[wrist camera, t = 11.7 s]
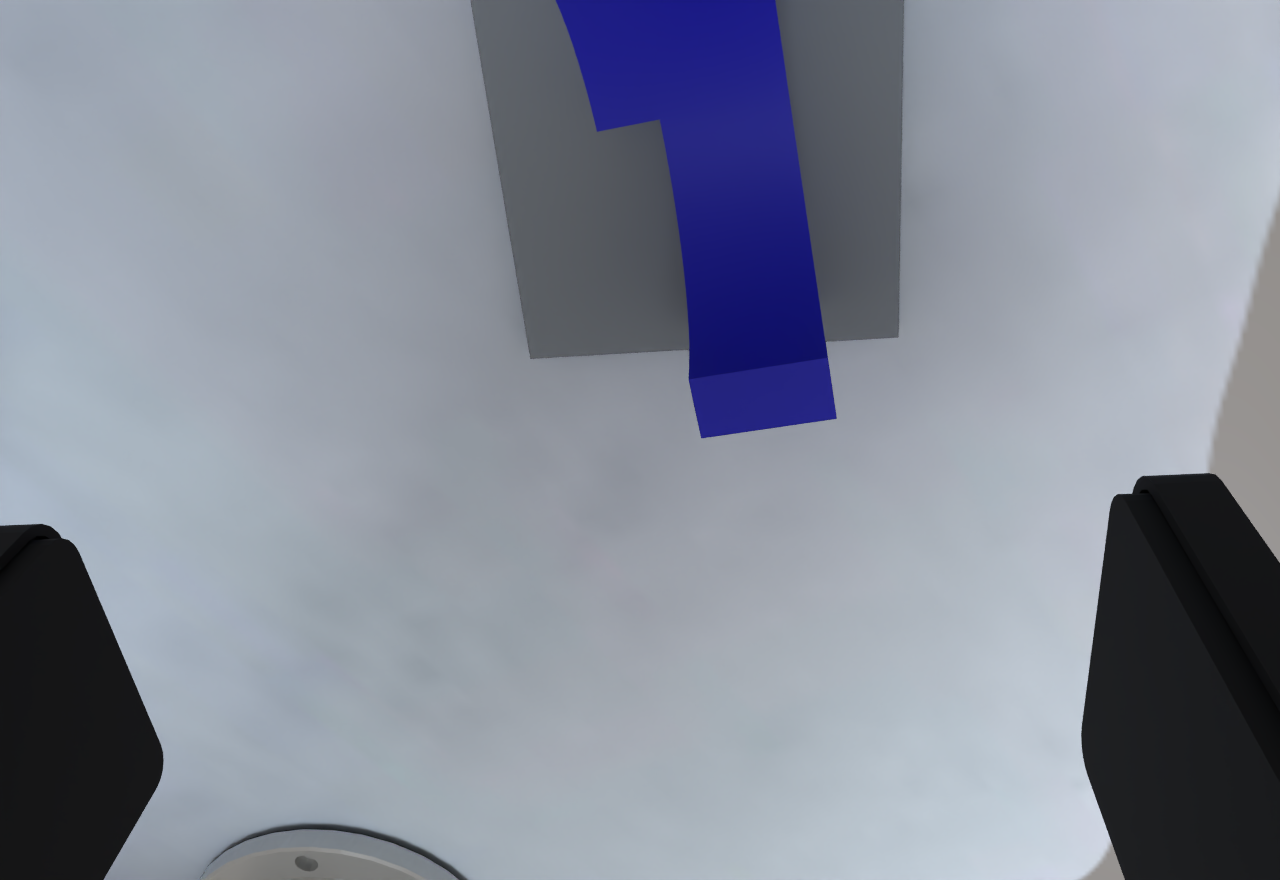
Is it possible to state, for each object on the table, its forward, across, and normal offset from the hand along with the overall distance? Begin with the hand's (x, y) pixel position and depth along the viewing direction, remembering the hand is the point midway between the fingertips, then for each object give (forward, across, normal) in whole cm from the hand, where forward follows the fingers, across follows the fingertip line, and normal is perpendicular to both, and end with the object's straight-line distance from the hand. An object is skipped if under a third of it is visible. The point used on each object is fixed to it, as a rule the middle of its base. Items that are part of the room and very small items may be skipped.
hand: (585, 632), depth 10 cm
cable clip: (+20, 0, 0) cm, 20 cm away
